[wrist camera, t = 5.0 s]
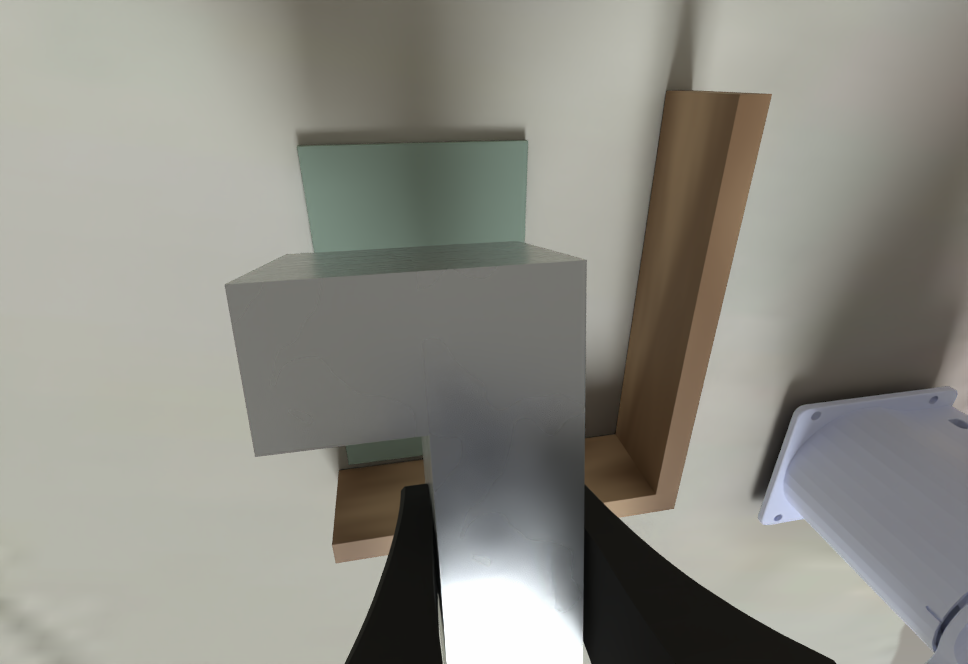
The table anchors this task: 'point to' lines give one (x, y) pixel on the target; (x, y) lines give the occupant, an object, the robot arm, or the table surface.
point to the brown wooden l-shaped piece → (635, 324)
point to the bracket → (444, 413)
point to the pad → (412, 209)
